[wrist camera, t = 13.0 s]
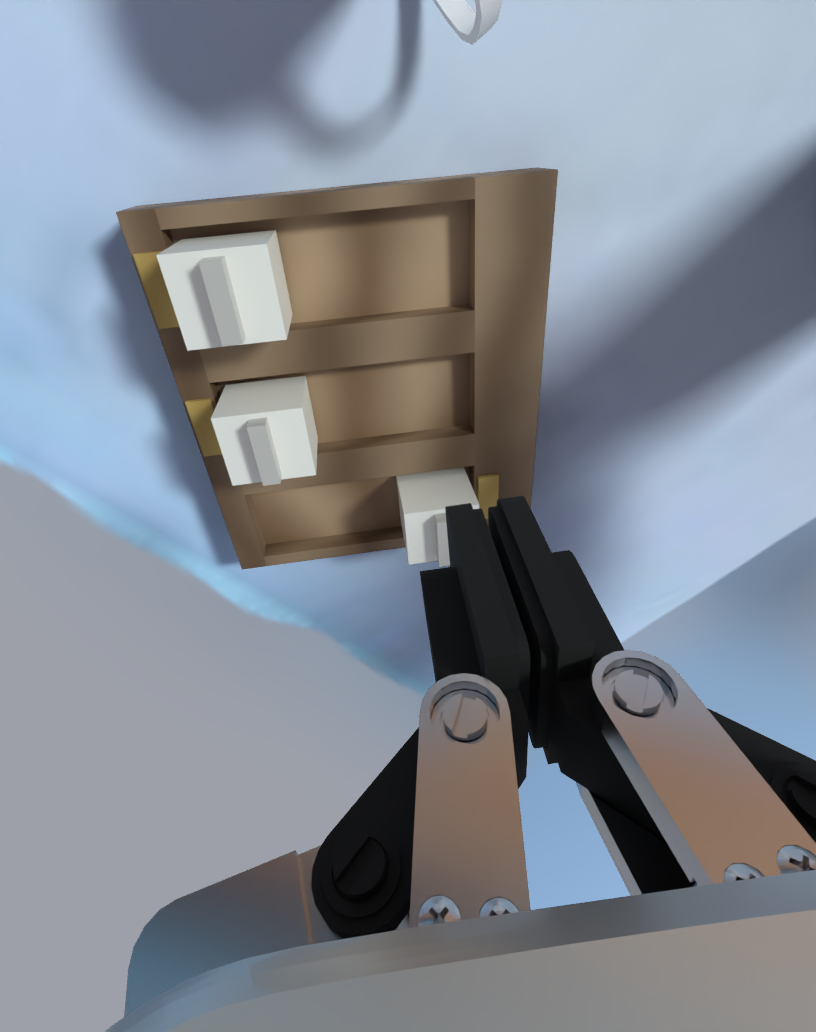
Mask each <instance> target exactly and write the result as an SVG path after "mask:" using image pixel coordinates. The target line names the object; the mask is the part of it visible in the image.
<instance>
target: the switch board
mask: <svg viewBox="0 0 816 1032" xmlns="http://www.w3.org/2000/svg"><path fill="white" fill-rule="evenodd" d="M557 175H558V170H556V169H545V168H529V169H518V170H508V171H497V172H487V173H477V174H466V175H456V176H445V177H435V178H424V179H414V180H404V181H393V182H383V183H372V184H362V185H351V186H341V187H331V188H320V189H310V190H299V191H289V192H278V193H268V194H258V195H247V196H237V197H226V198H216V199H205V200H195V201H185V202H174V203H164V204H153V205H143V206H135V207H132V208H129V209H125V210H122V211H118V212H116V214H117V217H118V220H119V223H120V225H121V228H122V231H123V234H124V237H125V240H126V242H127V245H128V248H129V251H130V254H131V257H132V259H133V262H134V265H135V268H136V271H137V274H138V276H139V279H140V282H141V285H142V288H143V290H144V293H145V296H146V299H147V302H148V305H149V307H150V310H151V313H152V316H153V319H154V322H155V324H156V327H157V330H158V333H159V336H160V339H161V341H162V344H163V347H164V350H165V353H166V356H167V358H168V361H169V364H170V367H171V370H172V372H173V375H174V378H175V381H176V384H177V387H178V389H179V392H180V395H181V398H182V401H183V404H184V406H185V409H186V412H187V415H188V418H189V421H190V423H191V426H192V429H193V432H194V435H195V438H196V440H197V443H198V446H199V449H200V452H201V454H202V457H203V460H204V463H205V466H206V469H207V471H208V474H209V477H210V480H211V483H212V486H213V488H214V491H215V494H216V497H217V500H218V503H219V505H220V508H221V511H222V514H223V517H224V520H225V522H226V525H227V528H228V531H229V534H230V536H231V539H232V542H233V545H234V548H235V551H236V553H237V556H238V559H239V562H240V565H241V568H242V569H248V568H255V567H263V566H270V565H278V564H285V563H292V562H300V561H307V560H314V559H322V558H329V557H336V556H344V555H351V554H358V553H366V552H373V551H380V550H388V549H395V548H403V547H405V541H404V536H403V531H402V526H401V518H400V508H399V499H398V489H397V479H396V476H398V475H406V474H414V473H422V472H429V471H437V470H445V469H453V468H461V467H464V469H465V471H466V474H467V476H468V479H469V481H470V483H471V486H472V488H473V490H474V493H475V495H476V498H477V500H478V502H479V509H480V508H481V509H482V510H483V513H484V516H485V519H486V522H487V525H488V508H489V507H494V506H496V505H497V500H498V499H503V498H510V497H517V496H524V497H525V499H526V500H527V503H528V505H529V507H531V495H532V483H533V470H534V458H535V446H536V434H537V421H538V409H539V397H540V384H541V372H542V360H543V347H544V335H545V323H546V310H547V298H548V286H549V273H550V261H551V249H552V236H553V224H554V212H555V199H556V187H557ZM271 230H276V233H277V238H278V243H279V248H280V253H281V258H282V263H283V268H284V273H285V278H286V283H287V289H288V294H289V299H290V304H291V309H292V319H291V323H290V328H289V332H288V336H287V340H279V341H270V342H261V343H252V344H243V345H234V346H225V347H216V348H207V349H198V350H189V351H187V348H186V345H185V342H184V338H183V335H182V332H181V329H180V326H179V323H178V320H177V317H176V314H175V311H174V308H173V305H172V302H171V299H170V296H169V293H168V290H167V287H166V284H165V280H164V277H163V274H162V271H161V268H160V265H159V262H158V259H157V256H156V255H157V254H159V253H160V252H162V251H164V250H165V249H167V248H169V247H170V246H172V245H173V244H175V243H177V242H178V241H180V240H182V239H191V238H201V237H211V236H221V235H231V234H241V233H251V232H261V231H271ZM297 376H306V380H307V385H308V390H309V396H310V401H311V406H312V411H313V416H314V421H315V426H316V431H317V436H318V444H317V468H316V475H314V476H306V477H298V478H290V479H282V480H281V484H275V485H267V486H263V484H262V482H258V483H250V484H243V485H235V486H233V485H232V482H231V479H230V476H229V473H228V470H227V467H226V464H225V461H224V458H223V455H222V452H221V449H220V446H219V443H218V440H217V436H216V433H215V430H214V427H213V424H212V421H211V417H212V415H213V412H214V410H215V408H216V406H217V403H218V401H219V399H220V397H221V394H222V392H223V390H224V387H225V385H228V384H237V383H246V382H254V381H263V380H271V379H280V378H289V377H297Z"/></svg>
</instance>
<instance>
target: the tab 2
mask: <svg viewBox="0 0 816 1032" xmlns="http://www.w3.org/2000/svg"><path fill="white" fill-rule="evenodd" d="M396 479H397V489H398V499H399V508H400V518H401V526H402V531H403V536H404V541H405V547H406V552H407V557H408V563H409V565H410V564H418V563H425V562H432V561H438V564H439V567H442V566H449V565H450V559H449V547H448V535H447V524H446V511H445V507H446V506H453V505H460V504H467V503H471V505H472V507H473V509H479V502H478V500H477V498H476V495H475V493H474V490H473V488H472V486H471V483H470V481H469V479H468V476H467V474H466V471H465V469H464V467H461V468H453V469H445V470H437V471H429V472H422V473H414V474H406V475H398V476H396Z"/></svg>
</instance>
